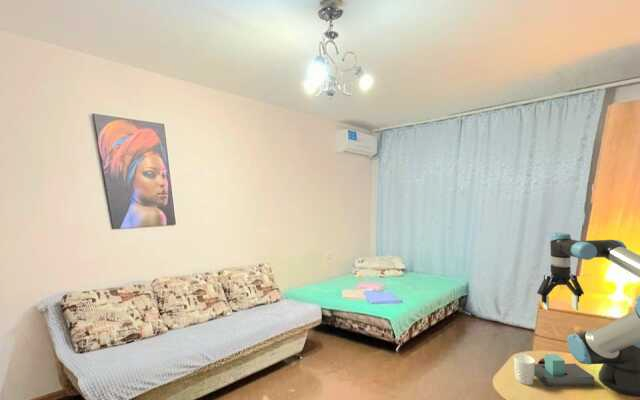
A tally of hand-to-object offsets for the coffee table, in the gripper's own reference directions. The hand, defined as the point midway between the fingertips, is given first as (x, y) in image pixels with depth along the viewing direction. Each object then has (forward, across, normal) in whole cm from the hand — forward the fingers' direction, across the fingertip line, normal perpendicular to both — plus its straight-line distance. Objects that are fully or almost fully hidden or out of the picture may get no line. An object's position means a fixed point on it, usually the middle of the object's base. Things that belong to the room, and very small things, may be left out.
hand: (560, 309), depth 147 cm
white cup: (+27, +25, +12) cm, 39 cm away
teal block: (+27, +12, +12) cm, 31 cm away
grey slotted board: (+27, +8, +12) cm, 30 cm away
